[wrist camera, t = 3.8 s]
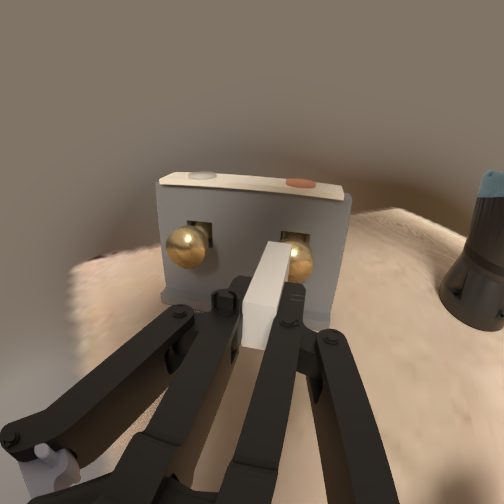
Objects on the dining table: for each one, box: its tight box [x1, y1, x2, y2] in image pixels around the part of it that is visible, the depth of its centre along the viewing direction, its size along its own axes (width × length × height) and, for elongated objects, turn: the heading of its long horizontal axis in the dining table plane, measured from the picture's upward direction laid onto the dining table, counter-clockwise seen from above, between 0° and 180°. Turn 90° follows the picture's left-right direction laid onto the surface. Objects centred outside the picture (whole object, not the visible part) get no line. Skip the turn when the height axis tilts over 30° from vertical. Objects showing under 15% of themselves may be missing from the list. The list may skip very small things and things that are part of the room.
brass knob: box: [278, 231, 314, 284], centre depth 31 cm, size 9×4×4 cm, turn 167°
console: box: [156, 171, 352, 331], centre depth 34 cm, size 6×22×17 cm, turn 77°
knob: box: [166, 221, 213, 269], centre depth 33 cm, size 9×4×4 cm, turn 167°
